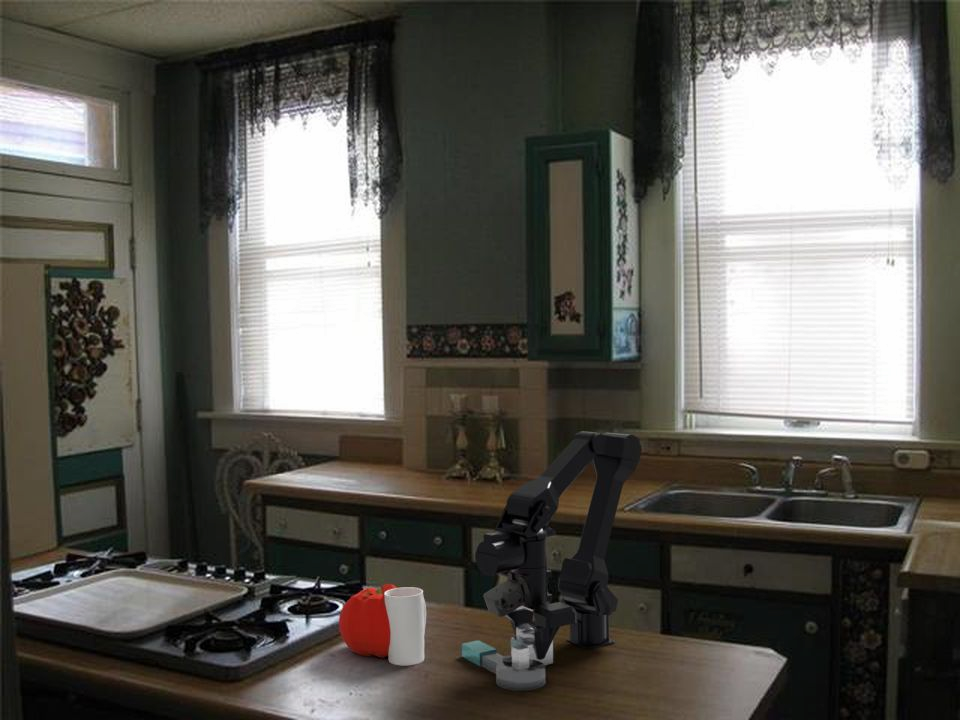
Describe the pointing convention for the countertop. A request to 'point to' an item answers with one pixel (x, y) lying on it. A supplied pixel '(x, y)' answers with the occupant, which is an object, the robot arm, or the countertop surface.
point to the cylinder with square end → (530, 643)
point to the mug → (406, 625)
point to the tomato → (367, 622)
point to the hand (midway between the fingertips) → (531, 654)
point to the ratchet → (507, 666)
